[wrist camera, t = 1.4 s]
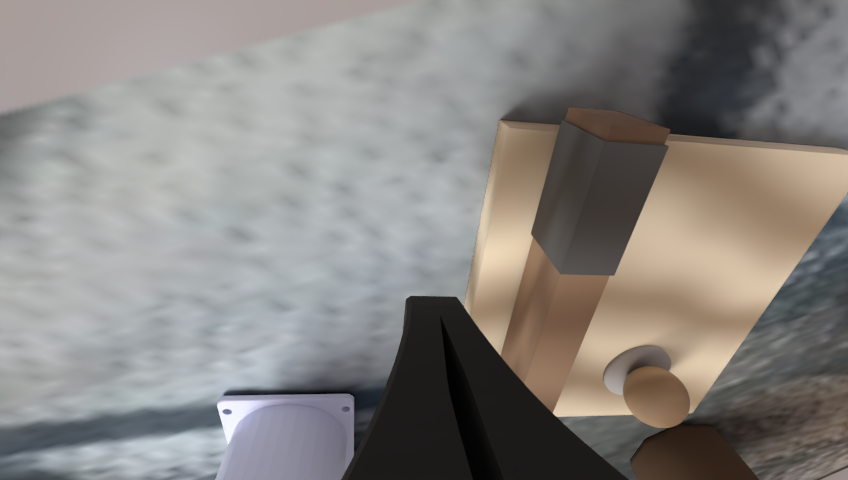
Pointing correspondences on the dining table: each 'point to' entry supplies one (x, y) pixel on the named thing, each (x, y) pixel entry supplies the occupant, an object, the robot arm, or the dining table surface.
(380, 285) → the dining table surface
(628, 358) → the board
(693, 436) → the beer bottle
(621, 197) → the lever
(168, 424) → the dining table surface
